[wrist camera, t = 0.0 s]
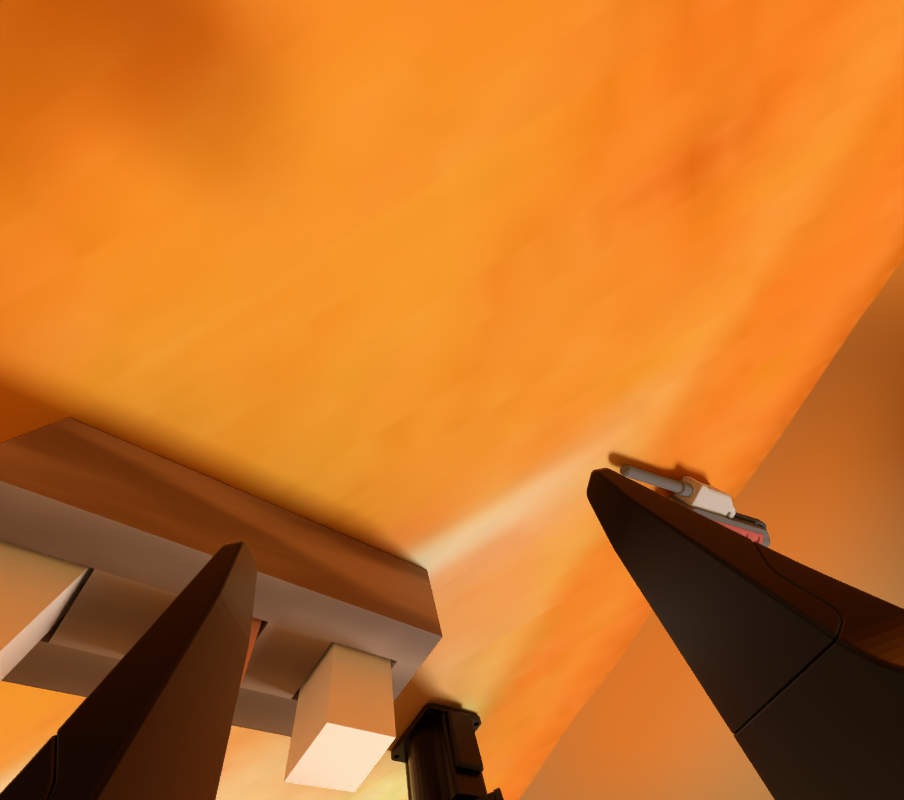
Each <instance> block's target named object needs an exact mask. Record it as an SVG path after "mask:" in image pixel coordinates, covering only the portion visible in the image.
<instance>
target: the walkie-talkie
mask: <svg viewBox="0 0 904 800" xmlns="http://www.w3.org/2000/svg"><path fill="white" fill-rule="evenodd" d="M620 473H621V474H622V475H623V476H625V477H629V478H632V479H635V480H638V481H641V482H645V483H648V484H651V485H654V486H658V487H661V488H664V489H667V490H670V491H673V492H674V495H673V496H670V497H669V499H671V500H673V501H675V502H677V503H679V504H681V505H683V506H685V507H687V508H689V509H691V510H693V511H695V512H697V513H699V514H701V515H703V516H705V517H707V518H709V519H711V520H713V521H715V522H717V523H719V524H721V525H723V526H725V527H727V528H729V529H731V530H733V531H735V532H737V533H739V534H741V535H743V536H745V537H747V538H749V539H751V540H752V542H753V541H755V542H758V543H760V544H762V545H764V546H766V547H768V546H769V544H770V538H769V535H768V532H767V530H766V525H765V523H763V522H762V521H760V520H758V519H755V518H752V517H749V516H746V515H742V514H739V513H736V511H735V510H736V509H735V508H734V506H733V503H732V500H731V497H730V496H729V495H728V494H726V493H724V492H722V491H720V490H719V489H717V488H715V487H713V486H710V485H707V484H704V483H701V482H699V481H697V480H695V479H693V478H691V477H688V476H683V478H682V480H673V479H670V478H667V477H664V476H661V475H658V474H655V473H652V472H649V471H646V470H643V469H640V468H636V467H633V466H630V465H624V466H622V467H621V468H620ZM755 523H756V524H755Z"/></svg>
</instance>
